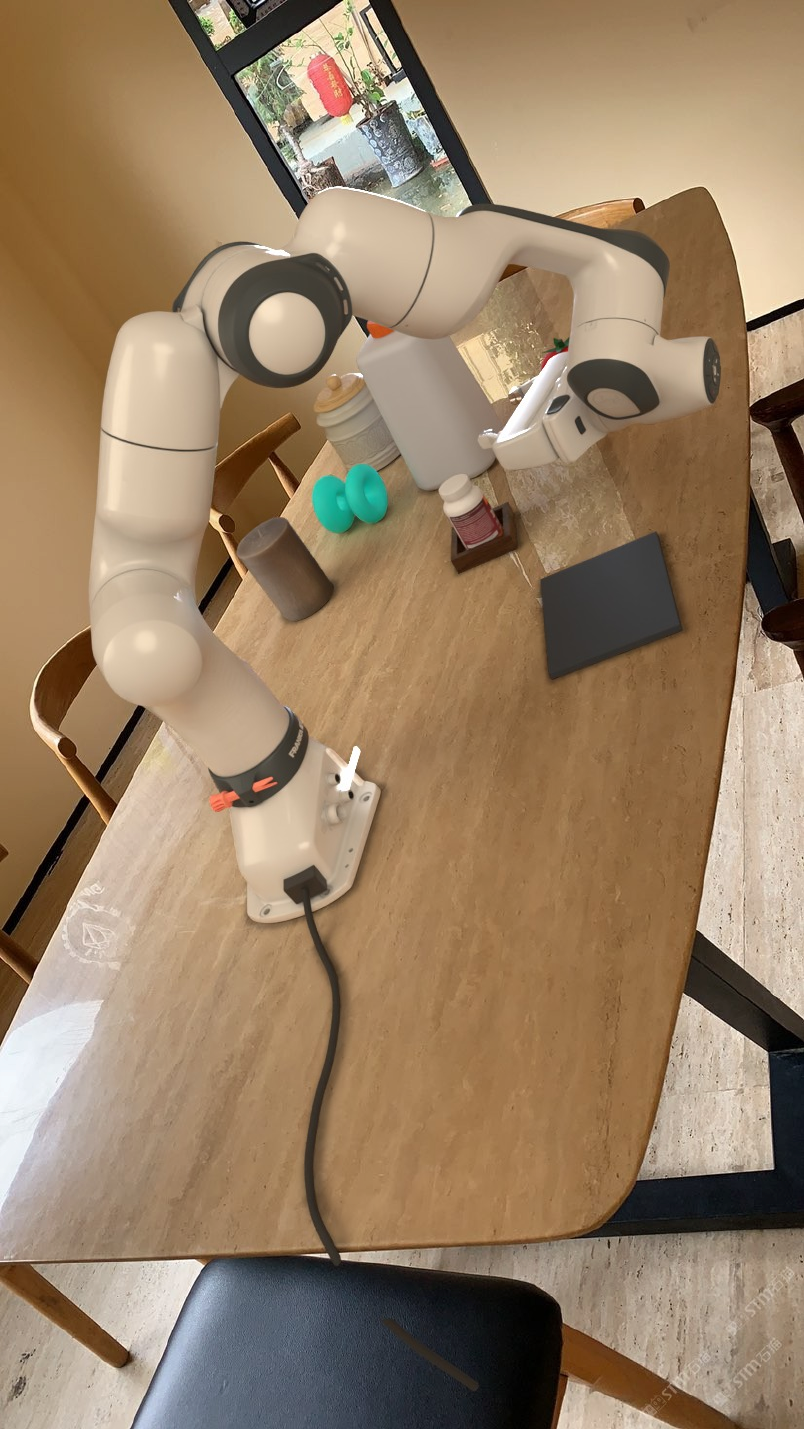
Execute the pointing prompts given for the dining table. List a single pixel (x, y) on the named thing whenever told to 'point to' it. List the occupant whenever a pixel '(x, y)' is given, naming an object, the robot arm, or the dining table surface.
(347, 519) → the teal spool
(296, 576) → the pillar candle
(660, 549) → the mat
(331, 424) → the jar
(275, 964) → the dining table surface
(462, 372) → the plastic bottle
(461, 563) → the frame
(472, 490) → the pill bottle
